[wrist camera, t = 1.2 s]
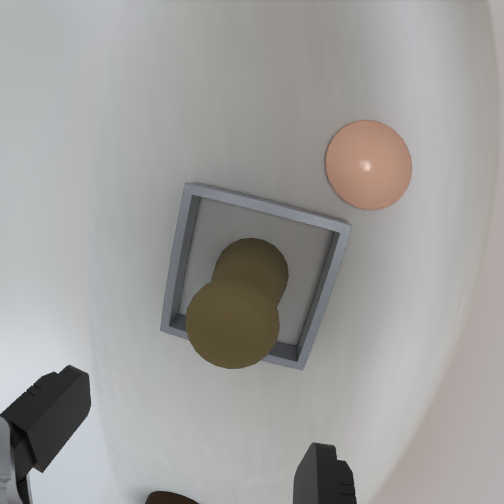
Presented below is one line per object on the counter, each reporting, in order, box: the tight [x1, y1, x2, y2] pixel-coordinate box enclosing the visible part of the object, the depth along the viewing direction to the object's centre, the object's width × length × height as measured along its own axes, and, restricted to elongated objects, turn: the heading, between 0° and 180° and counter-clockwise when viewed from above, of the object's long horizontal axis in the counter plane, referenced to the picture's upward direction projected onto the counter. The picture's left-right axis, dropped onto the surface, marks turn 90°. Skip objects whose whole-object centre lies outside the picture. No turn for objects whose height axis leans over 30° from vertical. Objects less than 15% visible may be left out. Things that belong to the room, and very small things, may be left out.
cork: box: [185, 238, 289, 369], centre depth 21 cm, size 6×6×11 cm
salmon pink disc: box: [325, 120, 412, 210], centre depth 23 cm, size 7×7×1 cm
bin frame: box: [160, 182, 352, 370], centre depth 25 cm, size 12×12×2 cm
